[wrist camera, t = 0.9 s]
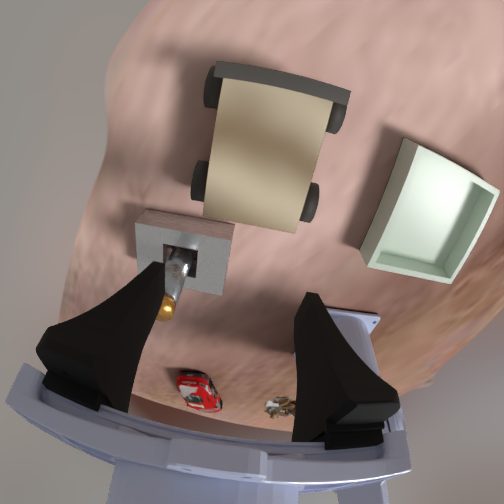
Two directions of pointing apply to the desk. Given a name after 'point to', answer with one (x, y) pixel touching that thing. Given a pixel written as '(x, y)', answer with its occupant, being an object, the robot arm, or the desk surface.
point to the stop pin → (175, 279)
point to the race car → (199, 392)
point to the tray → (427, 216)
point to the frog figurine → (281, 407)
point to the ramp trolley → (265, 145)
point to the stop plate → (186, 246)
